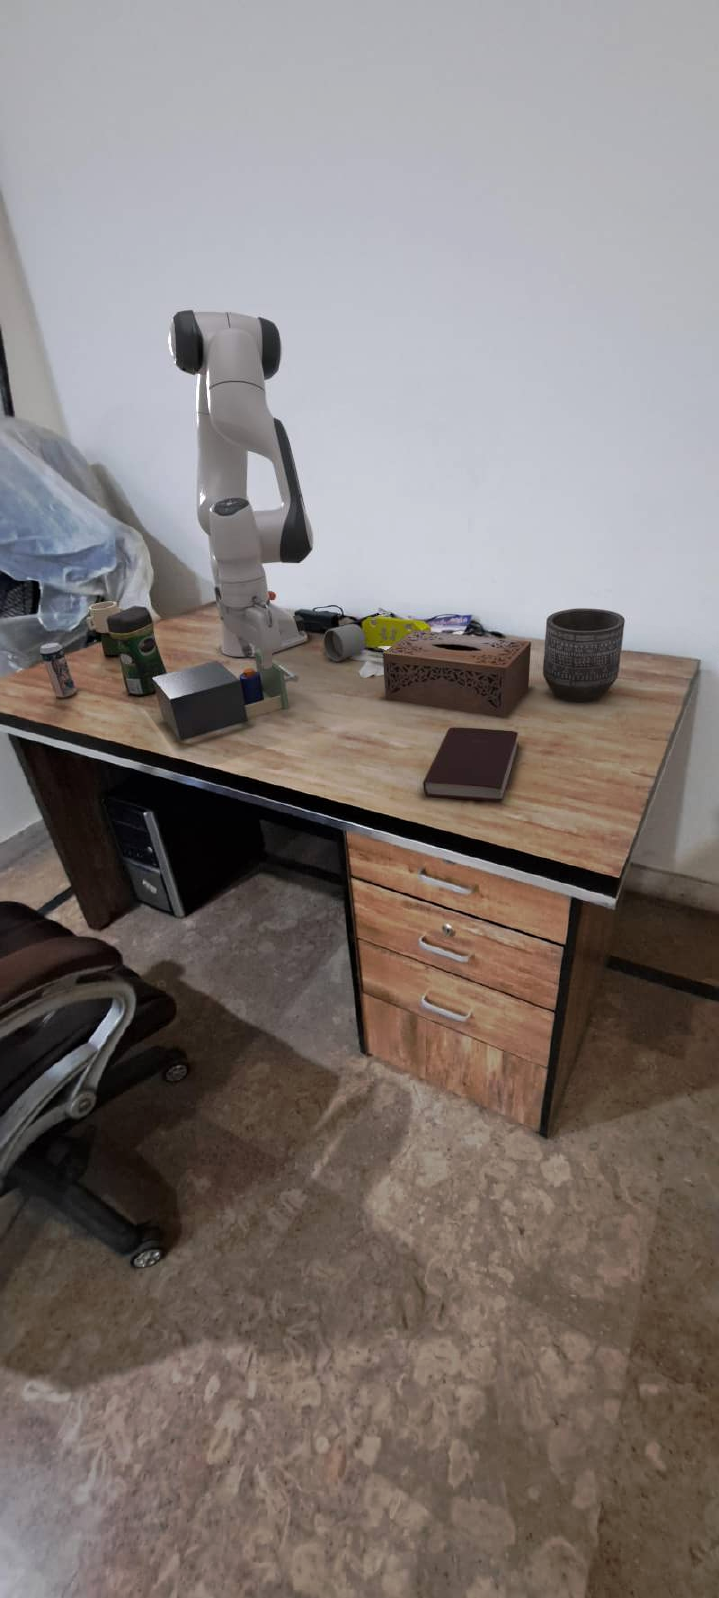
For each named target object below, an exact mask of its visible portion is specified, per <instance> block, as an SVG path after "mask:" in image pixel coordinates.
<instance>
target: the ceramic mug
mask: <svg viewBox="0 0 719 1598" xmlns="http://www.w3.org/2000/svg"><path fill="white" fill-rule="evenodd" d="M344 625H345V624H344ZM340 626H341V627H338V626H336V627H337V628H333V627H332V628H333V629H329V630H325V633H324V636H323V640H322V641H323V649H324V652H325V653H326V655H327V656H328V658H329V659H330V660H331V661H334V662H340V661H343V660H346V659H348V658H351V657H354V656H356V655H358V654H360V653H362V652H363V651H364V650H365V648H366V647H365V646H366V636H365V633H364V631H363V628H362V627H361V626H360V625H359V624H349V625H345V626H342V625H340Z"/></svg>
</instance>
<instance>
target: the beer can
mask: <svg viewBox="0 0 719 1598" xmlns="http://www.w3.org/2000/svg"><path fill="white" fill-rule="evenodd" d="M39 653H40V655H41V657H42V660H43V664H44V666H45V669H46V672H47V675H48V677H49V681H50V683H51V687H52V689H53V692H54V695H55V697H58V698H68V697H71V696H73V695H74V694H75V693H76V692H77V689H76V686H75V682H74V680H73V676H72V673H71V670H70V667H69V665H68V661H67V658H66V656H65V653H64V650H63V646H62V645H61V644H60V643H59V642H58V641H57V642H55V641H54V642H48V643H43V644H42V645H41V646H40V650H39Z"/></svg>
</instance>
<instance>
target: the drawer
mask: <svg viewBox="0 0 719 1598" xmlns="http://www.w3.org/2000/svg"><path fill="white" fill-rule="evenodd" d="M254 655H255V657H254V660H255V665H256V671H257V672H259V673H260V678H261V684H262V690H263V696H264V700H263V701H260V702H256V703H253V704H249V705H246V706H245V709H246V714H247V719H250V718H254V717H257V716H260V715H263V714H267V713H271V712H274V711H278V710H282V709H284V710H286V711H287V710H289V709H290V705H289V699H288V693H287V686H286V683H289V682H293V683H297V682H298V681H299V679H300V678H299V676H298V675H297V674H296V673H295V672H293V671H292V670H290V669H289V668H287V667H286V666H285V665H283V664H280V665H278V664H276V663H275V662H273V661H272V667H271V668H269V669H264V668H263V667H262V666H261V662H260V659H262V654H261V653H260V652H259V651H256V652H254Z"/></svg>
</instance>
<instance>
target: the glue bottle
mask: <svg viewBox="0 0 719 1598" xmlns="http://www.w3.org/2000/svg"><path fill="white" fill-rule="evenodd" d="M238 679H239V680H240V683H241V688H242V693H243V698H244V703H245V706H246V705H249V704H253V703H256V702H260V701H263V700H264V696H263V690H262V684H261V678H260V673H259V672H257V670H255V669H254V668H252V667H251V668H250V667H249V668H245V669H243V671H242V673H240V674H239V676H238Z"/></svg>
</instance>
